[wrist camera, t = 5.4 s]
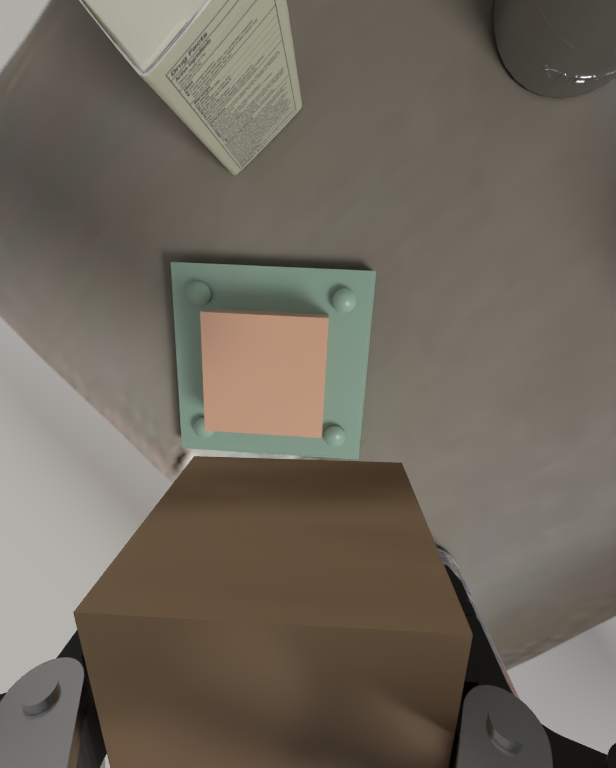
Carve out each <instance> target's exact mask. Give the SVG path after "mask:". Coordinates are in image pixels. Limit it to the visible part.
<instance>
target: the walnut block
mask: <svg viewBox="0 0 616 768" xmlns="http://www.w3.org/2000/svg"><path fill="white" fill-rule="evenodd" d="M73 613H74V616H75V621H76V625H77V630H78V634H79V638H80V642H81V646H82V651H83V655H84V659H85V663H86V667H87V671H88V676H89V680H90V684H91V688H92V692H93V697H94V701H95V705H96V709H97V713H98V718H99V722H100V726H101V730H102V734H103V739H104V743H105V747H106V751H107V755H108V759H109V764H110V768H449V763H450V757H451V752H452V746H453V741H454V735H455V730H456V724H457V719H458V713H459V708H460V702H461V697H462V691H463V686H464V680H465V675H466V670H467V664H468V659H469V653H470V648H471V642H472V637H473V634H472V631H471V629H470V626H469V624H468V622H467V619H466V617H465V614H464V612H463V610H462V607H461V605H460V602H459V600H458V597H457V595H456V593H455V590H454V588H453V585H452V583H451V581H450V578H449V576H448V573H447V571H446V569H445V566H444V564H443V561H442V559H441V556H440V554H439V552H438V549H437V547H436V544H435V542H434V540H433V537H432V535H431V532H430V530H429V528H428V525H427V523H426V520H425V518H424V516H423V513H422V511H421V508H420V506H419V503H418V501H417V499H416V496H415V494H414V491H413V489H412V487H411V484H410V482H409V479H408V477H407V475H406V472H405V470H404V467H403V465H402V463H393V462H361V461H329V460H296V459H264V458H232V457H200V456H194V457H193V459H192V460H191V461H190V462H189V464H188V465H187V466H186V468H185V469H184V470H183V471H182V473H181V474H180V475H179V477H178V478H177V479H176V480H175V482H174V483H173V484H172V486H171V487H170V488H169V490H168V491H167V492H166V493H165V495H164V496H163V497H162V499H161V500H160V501H159V502H158V504H157V505H156V506H155V508H154V509H153V510H152V511H151V513H150V514H149V515H148V517H147V518H146V519H145V521H144V522H143V523H142V524H141V526H140V527H139V528H138V530H137V531H136V532H135V533H134V535H133V536H132V537H131V539H130V540H129V541H128V543H127V544H126V545H125V547H124V548H123V549H122V550H121V552H120V553H119V554H118V556H117V557H116V558H115V559H114V561H113V562H112V563H111V564H110V566H109V567H108V568H107V570H106V571H105V572H104V573H103V575H102V576H101V577H100V579H99V580H98V581H97V583H96V584H95V585H94V586H93V588H92V589H91V590H90V592H89V593H88V594H87V596H86V597H85V598H84V599H83V601H82V602H81V603H80V605H79V606H78V607H77V608H76V610H75V611H74V612H73Z"/></svg>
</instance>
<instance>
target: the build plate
mask: <svg viewBox="0 0 616 768" xmlns="http://www.w3.org/2000/svg"><path fill="white" fill-rule="evenodd" d="M171 276H172V292H173V309H174V325H175V341H176V358H177V374H178V390H179V407H180V423H181V439H182V448H190V449H206V450H221V451H236V452H251V453H267V454H282V455H297V456H312V457H328V458H343V459H359V448H360V438H361V427H362V416H363V406H364V395H365V385H366V374H367V363H368V353H369V342H370V331H371V321H372V310H373V299H374V289H375V278H376V271H363V270H341V269H318V268H296V267H273V266H251V265H228V264H206V263H183V262H171Z"/></svg>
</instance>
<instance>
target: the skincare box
mask: <svg viewBox="0 0 616 768" xmlns="http://www.w3.org/2000/svg"><path fill="white" fill-rule="evenodd" d="M79 1H80V2H81V3H82V5H83V6H84V7H85V9H86V10H87V11H88V13H89V14H90V15H91V16H92V18H93V19H94V20H95V21H96V23H97V24H98V25H99V27H100V28H101V29H102V30H103V32H104V33H105V34H106V35H107V37H108V38H109V39H110V40H111V41H112V43H113V44H114V45H115V46H116V48H117V49H118V50H119V51H120V53H121V54H122V55H123V56H124V58H125V59H126V60H127V61H128V62H129V64H130V65H131V66H132V67H133V68H134V69H135V71H136V72H137V73H138V74H139V75H140V76H141V78H142V79H143V80H144V81H145V82H146V83H147V84H148V85H149V86H150V87H151V88H152V89H153V90H154V91H155V92H156V93H157V94H158V95H159V97H160V98H161V99H162V100H163V101H164V102H165V103H166V104H167V105H168V106H169V107H170V108H171V109H172V110H173V112H174V113H175V114H176V115H177V116H178V117H179V118H180V119H181V120H182V121H183V122H184V123H185V124H186V125H187V126H188V128H189V129H190V130H191V131H192V132H193V133H194V134H195V135H196V136H197V137H198V138H199V139H200V140H201V142H202V143H203V144H204V145H205V146H206V147H207V148H208V149H209V150H210V151H211V152H212V153H213V154H214V155H215V156H216V158H217V159H218V160H219V161H220V162H221V163H222V164H223V165H224V166H225V167H226V168H227V169H228V171H229V172H230V173H231V174H232V175H237V174H238V173H239V172H240V171H242V170H243V169H244V168H245V167H246V165H248V164H249V163H250V162H251V161H252V160H253V159H254V158H255V157H256V156H257V155H258V154H259V153H260V152H261V150H262V149H263V148H264V147H265V146H266V145H267V144H268V143H269V142H270V141H271V140H272V139H273V138H274V137H275V136H276V135H277V134H278V133H279V132H280V131H281V130H282V129H283V128H284V127H285V126H286V125H287V123H288V122H289V121H290V120H291V119H292V118H293V117H294V116H295V115H296V114H297V112H298V111H299V110H300V109H301V108H302V100H301V93H300V87H299V80H298V74H297V68H296V61H295V54H294V47H293V40H292V34H291V28H290V20H289V13H288V7H287V1H286V0H79Z"/></svg>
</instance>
